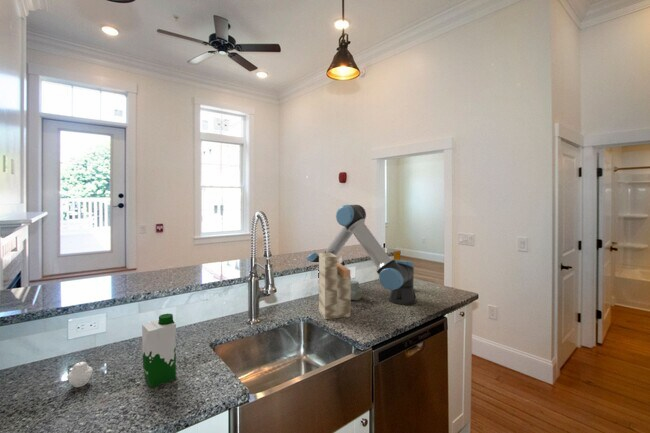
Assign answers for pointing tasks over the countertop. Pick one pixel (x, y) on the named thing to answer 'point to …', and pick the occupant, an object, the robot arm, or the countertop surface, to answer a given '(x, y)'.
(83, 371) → the pale grey lumpy disc
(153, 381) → the milk carton
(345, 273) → the orange bar
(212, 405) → the countertop surface
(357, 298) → the air freshener
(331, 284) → the stepped stand
